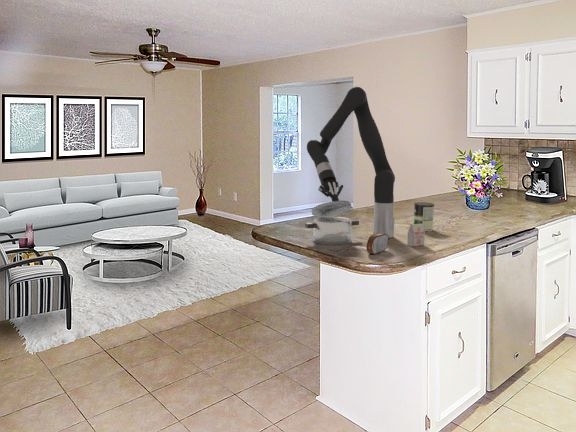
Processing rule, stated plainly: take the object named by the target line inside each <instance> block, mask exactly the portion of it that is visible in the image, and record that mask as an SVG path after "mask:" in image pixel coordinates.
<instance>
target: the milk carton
mask: <svg viewBox="0 0 576 432" xmlns="http://www.w3.org/2000/svg"><path fill="white" fill-rule="evenodd" d="M425 235H426V232H424V227H423V224H410V226H409V230H408V232H407V243H406V245H407V246H408V245H410V246H409V247H411V246H416V247H420V246H419V245H424V246H425V237H426V236H425Z"/></svg>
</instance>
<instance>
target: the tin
mask: <svg viewBox="0 0 576 432" xmlns="http://www.w3.org/2000/svg"><path fill="white" fill-rule="evenodd" d="M388 245H389V238H388V235H387V234H386V233H382V232H380V233H376V234H373V233H372V234H371V235H370V236H369V237H368V239H367V242H366V252H367V253H368V254H370V255H371V254H372V255H377V254H380V253H382V251H383V252H385V251H384V250H387V247H388ZM379 252H380V253H379Z"/></svg>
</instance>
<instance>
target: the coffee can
mask: <svg viewBox="0 0 576 432" xmlns="http://www.w3.org/2000/svg"><path fill="white" fill-rule="evenodd" d="M413 204H414V206H413V209H414V210H413V221H412V222H413V224H423V227H424V231H428V232H432V231H433V227H434V225H433V224H434V214H435V213H434V212H435V211H434V209H435V203H433V202H426V201H425V202H424V201H423V202H422V201H421V202H420V201H419V202H414V203H413Z"/></svg>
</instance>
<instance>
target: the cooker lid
mask: <svg viewBox="0 0 576 432" xmlns="http://www.w3.org/2000/svg"><path fill="white" fill-rule="evenodd" d="M350 209H352V202H350V201H349V200H339V201H332V200H331V201H328V202H324V203H321V204H318V205H316V206H315V207H313V208H312V209H311V215H312V216H314V217H317V218H318V217H333V216H337V215H340V214H343V213H345V212H347V211H349V210H350Z"/></svg>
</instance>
